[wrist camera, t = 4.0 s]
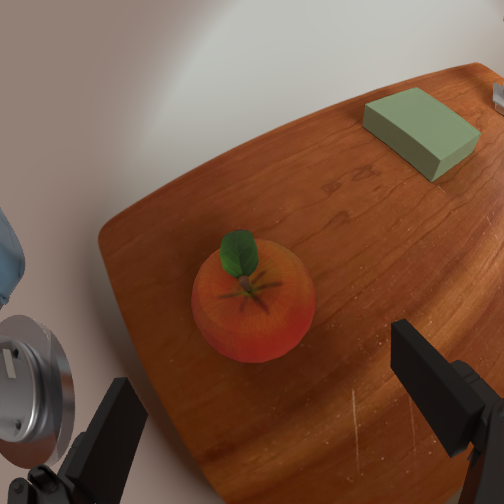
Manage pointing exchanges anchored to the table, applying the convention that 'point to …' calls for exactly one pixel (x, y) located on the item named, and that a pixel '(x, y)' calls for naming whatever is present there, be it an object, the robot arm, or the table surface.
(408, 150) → the green block
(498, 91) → the desk lamp
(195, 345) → the table surface
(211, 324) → the fruit
